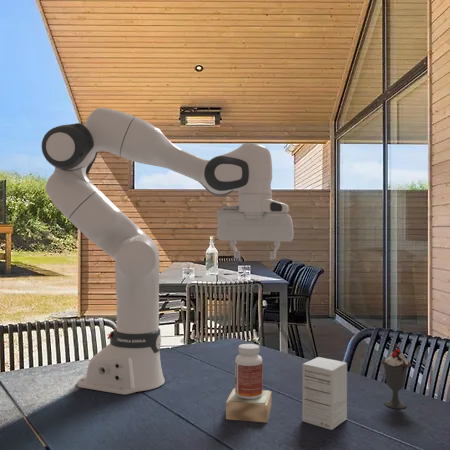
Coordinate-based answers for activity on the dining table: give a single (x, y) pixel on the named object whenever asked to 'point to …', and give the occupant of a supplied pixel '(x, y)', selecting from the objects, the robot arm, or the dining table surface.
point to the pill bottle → (248, 372)
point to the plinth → (249, 407)
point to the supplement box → (324, 392)
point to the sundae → (395, 376)
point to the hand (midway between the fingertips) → (254, 258)
